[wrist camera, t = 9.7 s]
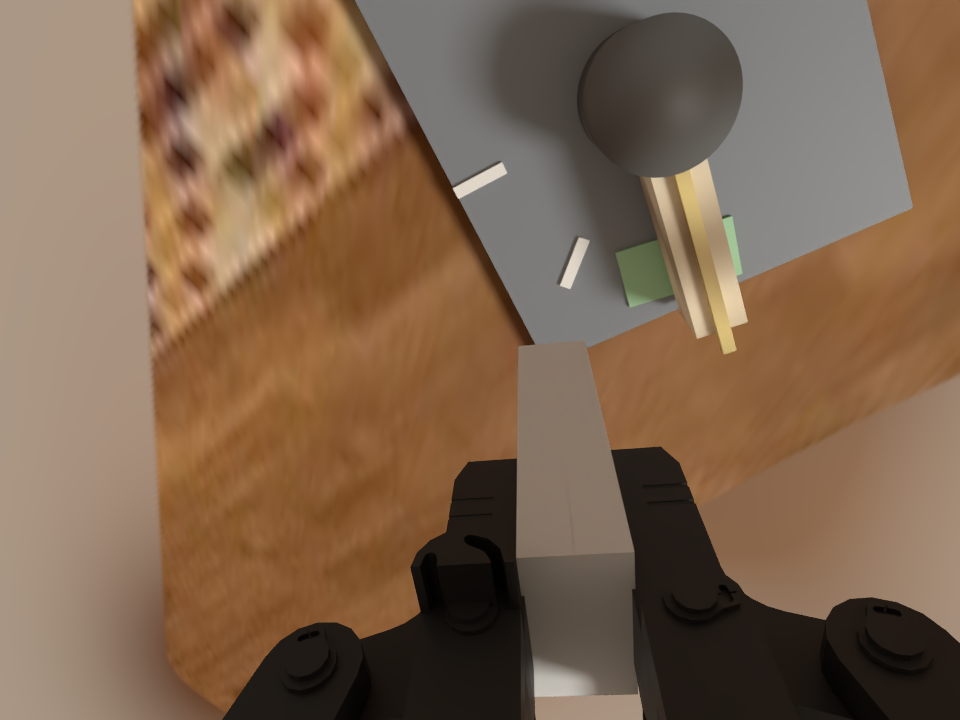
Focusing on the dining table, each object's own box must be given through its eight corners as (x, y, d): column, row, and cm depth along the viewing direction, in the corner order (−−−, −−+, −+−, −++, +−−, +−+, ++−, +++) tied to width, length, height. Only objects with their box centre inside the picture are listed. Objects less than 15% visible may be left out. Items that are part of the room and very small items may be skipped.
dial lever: (559, 56, 28) (567, 54, 23) (688, -3, 26) (723, -18, 22) (649, 334, 33) (669, 375, 29) (759, 297, 32) (798, 334, 28)
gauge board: (778, -317, 23) (793, -340, 22) (899, 203, 31) (915, 208, 30) (345, -27, 28) (337, -31, 27) (545, 356, 36) (546, 367, 35)
